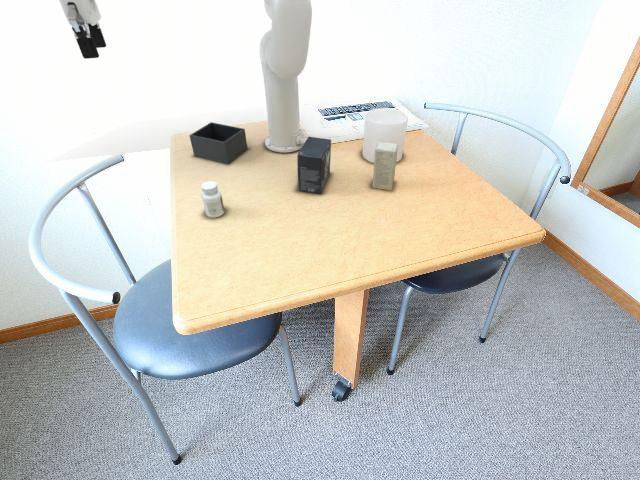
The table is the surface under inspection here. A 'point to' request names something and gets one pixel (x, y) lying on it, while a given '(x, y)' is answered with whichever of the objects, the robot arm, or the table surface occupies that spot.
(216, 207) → the pill bottle
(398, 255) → the table surface
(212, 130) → the bin
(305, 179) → the box
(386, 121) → the cup
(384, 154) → the box
